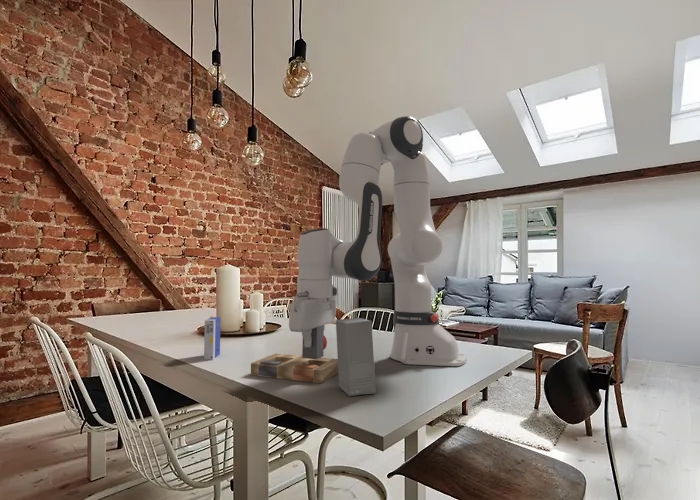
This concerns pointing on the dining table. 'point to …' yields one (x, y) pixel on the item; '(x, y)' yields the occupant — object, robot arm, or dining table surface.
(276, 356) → the socket board
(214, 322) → the walkman
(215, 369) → the dining table surface
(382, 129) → the robot arm
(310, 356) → the plug
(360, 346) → the skincare box
